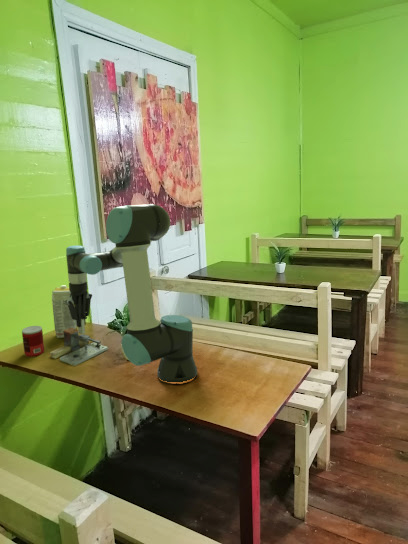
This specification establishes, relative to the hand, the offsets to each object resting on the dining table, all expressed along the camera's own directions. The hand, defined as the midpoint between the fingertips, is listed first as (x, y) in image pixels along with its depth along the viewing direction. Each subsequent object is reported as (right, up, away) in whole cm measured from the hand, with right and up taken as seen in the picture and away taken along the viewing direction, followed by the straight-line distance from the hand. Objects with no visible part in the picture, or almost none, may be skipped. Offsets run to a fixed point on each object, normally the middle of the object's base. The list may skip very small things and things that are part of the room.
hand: (81, 332), depth 178 cm
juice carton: (-10, -3, +11) cm, 15 cm away
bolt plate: (+4, -8, -9) cm, 13 cm away
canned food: (-18, -8, -7) cm, 21 cm away
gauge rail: (0, -7, -6) cm, 10 cm away
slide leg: (0, -7, -6) cm, 9 cm away
